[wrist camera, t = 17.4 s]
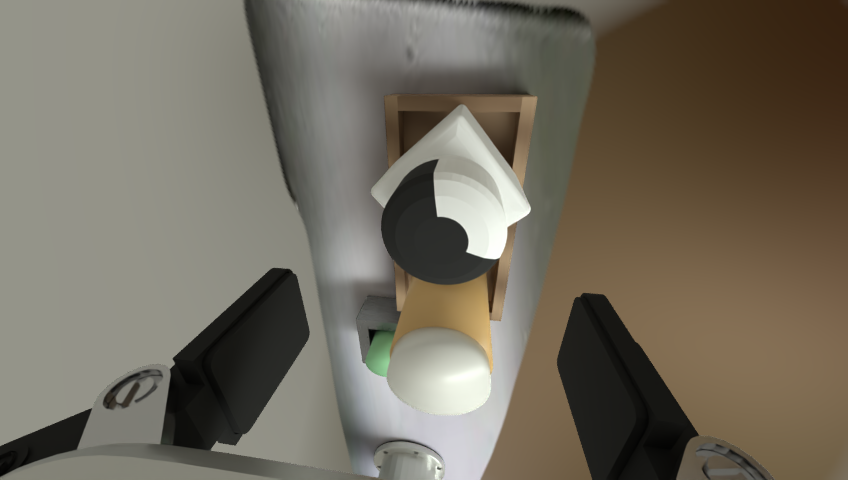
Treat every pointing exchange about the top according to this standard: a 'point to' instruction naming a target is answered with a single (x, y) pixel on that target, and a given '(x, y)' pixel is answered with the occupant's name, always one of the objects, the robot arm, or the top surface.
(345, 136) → the top surface
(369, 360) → the button
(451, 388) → the bottle
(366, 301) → the button pedestal
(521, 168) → the wooden tray
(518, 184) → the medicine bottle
